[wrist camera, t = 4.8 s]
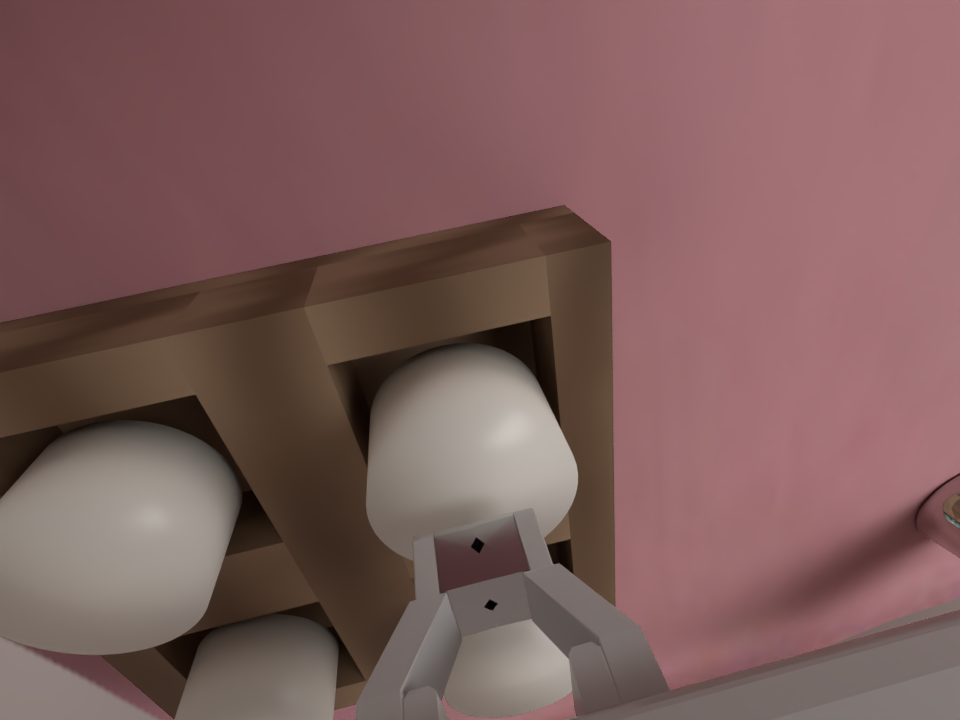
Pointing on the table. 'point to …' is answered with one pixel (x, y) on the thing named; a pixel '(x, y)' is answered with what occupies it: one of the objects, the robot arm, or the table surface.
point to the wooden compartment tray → (327, 408)
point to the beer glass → (942, 516)
